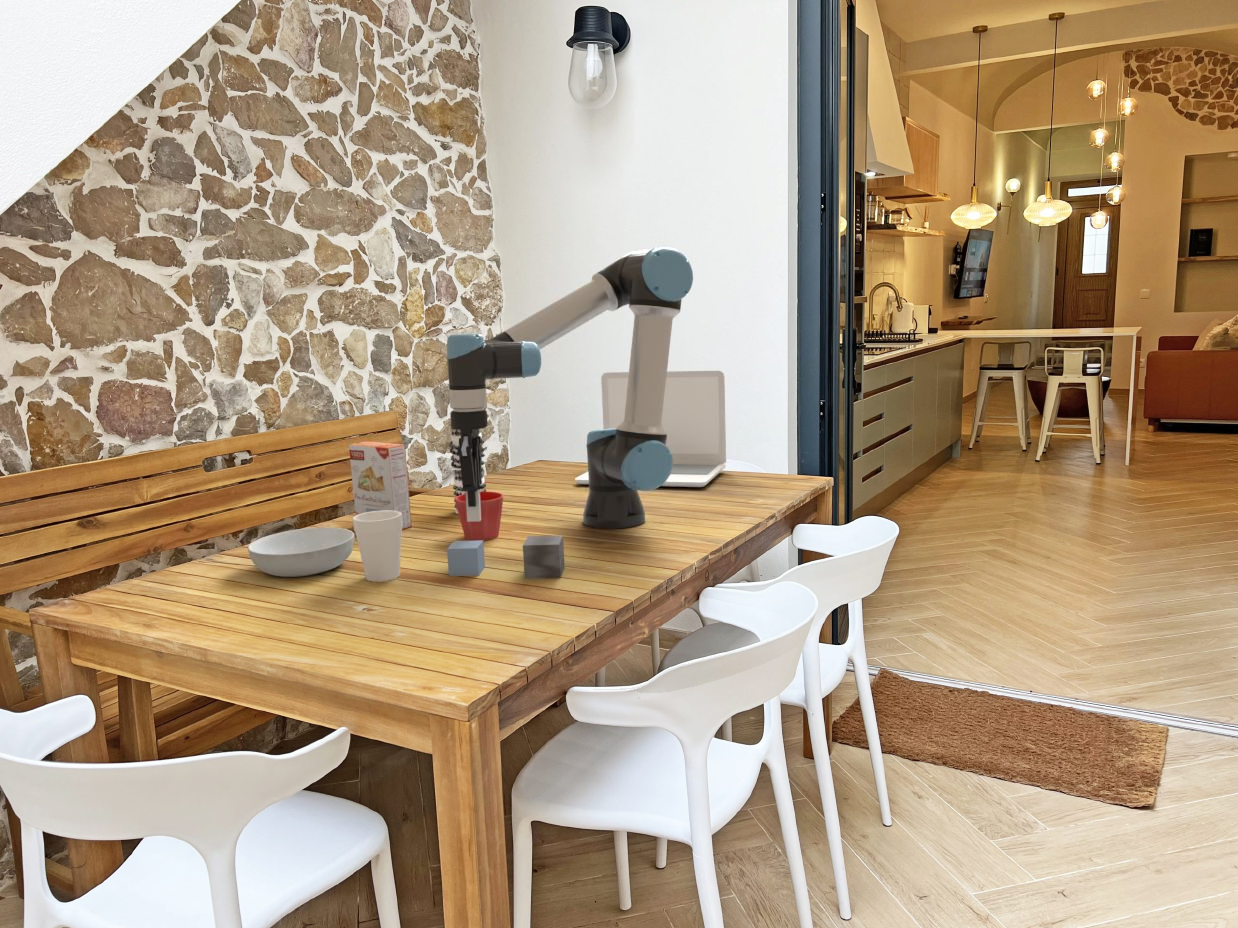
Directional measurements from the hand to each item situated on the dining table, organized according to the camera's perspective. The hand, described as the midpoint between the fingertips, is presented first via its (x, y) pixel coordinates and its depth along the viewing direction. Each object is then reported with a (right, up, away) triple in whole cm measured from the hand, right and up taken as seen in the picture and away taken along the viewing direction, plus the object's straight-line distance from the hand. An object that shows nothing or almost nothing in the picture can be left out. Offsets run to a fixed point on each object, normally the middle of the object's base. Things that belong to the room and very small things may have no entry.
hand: (474, 520), depth 193 cm
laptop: (+41, +8, +86) cm, 95 cm away
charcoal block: (+16, -10, -12) cm, 22 cm away
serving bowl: (-35, -11, -3) cm, 36 cm away
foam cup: (-16, -11, -11) cm, 23 cm away
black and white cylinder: (-8, -1, +47) cm, 48 cm away
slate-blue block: (0, -10, -9) cm, 14 cm away
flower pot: (-1, -5, +20) cm, 20 cm away
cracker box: (-28, -4, +33) cm, 43 cm away
